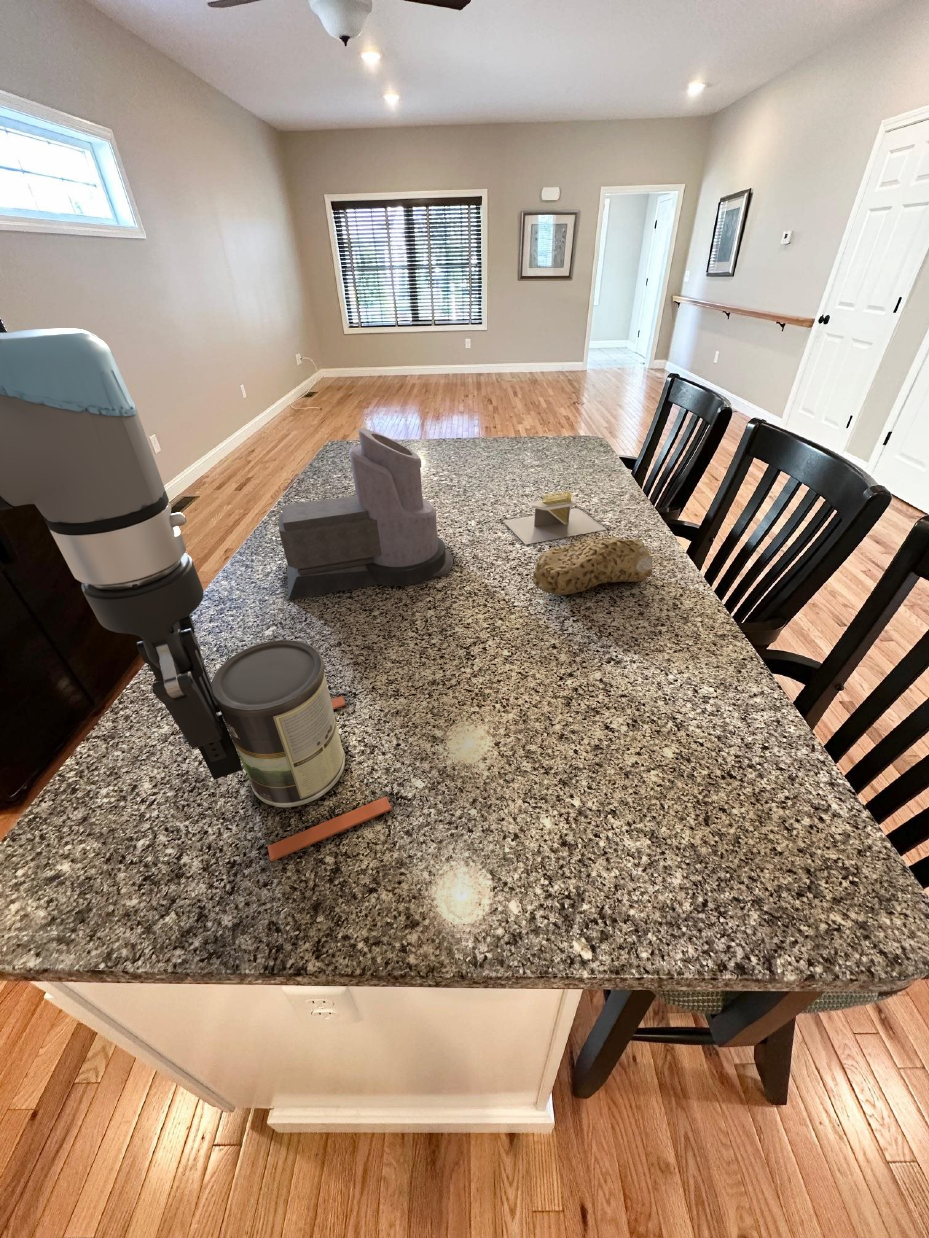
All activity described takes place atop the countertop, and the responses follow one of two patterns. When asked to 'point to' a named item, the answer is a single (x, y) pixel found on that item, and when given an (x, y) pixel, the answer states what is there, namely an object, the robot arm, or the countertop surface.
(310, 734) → the coffee can
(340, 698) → the strips
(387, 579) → the machine
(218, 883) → the countertop surface
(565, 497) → the platform
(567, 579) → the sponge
